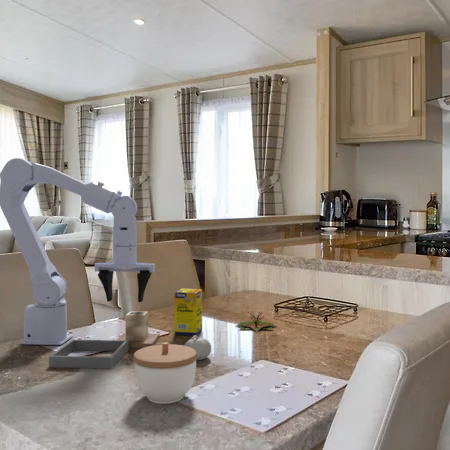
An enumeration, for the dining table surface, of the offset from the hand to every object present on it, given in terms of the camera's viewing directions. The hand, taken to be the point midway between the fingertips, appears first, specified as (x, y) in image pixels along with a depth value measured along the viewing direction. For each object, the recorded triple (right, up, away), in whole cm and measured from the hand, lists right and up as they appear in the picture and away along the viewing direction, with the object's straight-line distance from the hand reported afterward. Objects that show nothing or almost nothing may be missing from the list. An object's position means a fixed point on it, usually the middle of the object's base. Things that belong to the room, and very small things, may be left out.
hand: (125, 301), depth 126 cm
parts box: (+3, -8, -3) cm, 10 cm away
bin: (-4, -10, -15) cm, 19 cm away
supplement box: (+15, -9, +6) cm, 19 cm away
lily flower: (+33, -9, +13) cm, 36 cm away
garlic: (+19, -10, -16) cm, 27 cm away
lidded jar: (+14, -11, -38) cm, 42 cm away
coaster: (+4, -9, -3) cm, 10 cm away
